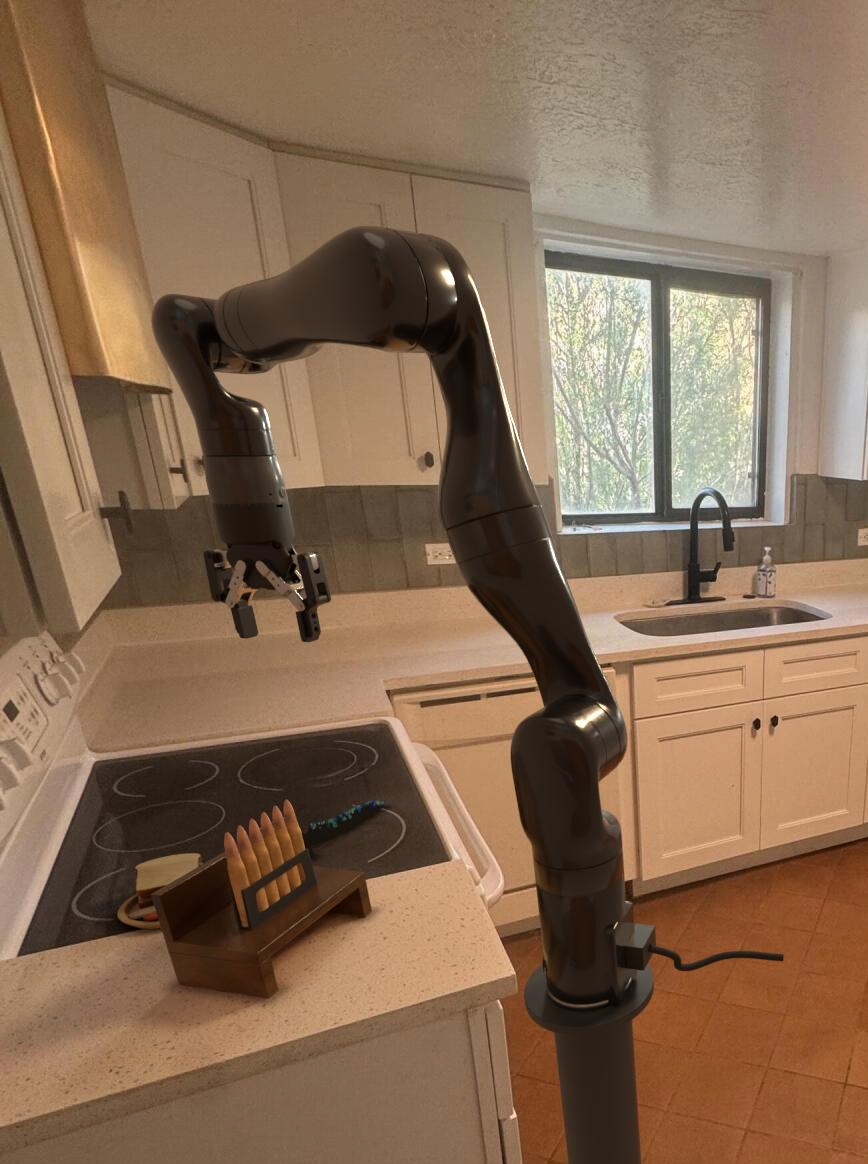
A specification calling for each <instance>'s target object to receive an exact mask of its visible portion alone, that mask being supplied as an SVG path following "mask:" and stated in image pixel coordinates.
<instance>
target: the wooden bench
mask: <svg viewBox="0 0 868 1164" xmlns="http://www.w3.org/2000/svg"><path fill="white" fill-rule="evenodd" d="M272 826H273V829H274V825H273V823H272ZM260 831H261V834H262V830H261V829H260ZM274 833H275V832H274ZM248 838H249V840H250V836H248ZM262 838H263V834H262ZM250 844H251V840H250ZM236 846H237V848H238V852H239V847H238V843H237V844H236ZM313 869H314V873H315V877H316V881H317V884H315V885H314V886H313V887H311V888H310V889H308V890H307V891H306V892H304V893H303V894H301V895H300V896H299V897H297V898H296V899H295V900H293V901H292V902H290V903H289V904H288V905H286V906H285V907H283V908H282V909H281V910H279V911H278V912H277V913H275V914H274V915H272V916H271V917H270V918H268V919H267V920H266V921H264V922H263V923H261V924H260V925H259V926H257V927H256V928H254V929H244V928H238V925H237V920H236V916H235V912H234V907H233V903H232V898H231V894H230V888H232V885H231V881H230V877H229V873H228V868H227V858H226V853H225V851H223V852H222V853H219V854H217V855H216V856H215V857H212V858H210V859H209V860H208V861H206V862H204V863H202V864H200V865H199V867H197V868H195V869H194V870H192V871H190V872H188V873H187V874H185V875H183V876H182V877H180V878H178V879H176V880H175V881H173V882H171V883H170V884H168V885H166V886H164V887H163V888H161V889H159V890H157V891H156V892H154V893H152V894H151V897H152V900H153V904H154V907H155V910H156V913H157V916H158V920H159V923H160V926H161V928H160V929H161V932H162V936H163V939H164V942H165V944H166V948H167V951H168V955H169V958H170V962H171V964H172V968H173V971H174V974H175V977H176V980H177V983H178V985H179V986H185V987H192V988H196V989H197V988H198V989H205V990H211V991H217V992H224V993H231V994H238V995H244V996H250V997H257V998H263V999H270V998H271V997H273V996H274V995H275V994H276V993H277V992H278V991H279V990H280V989H279V986H278V982H277V978H276V975H275V970H274V966H273V962H272V959H271V957H272V956H273V955H275V954H276V953H277V952H279V950H281V949H282V948H284V947H285V946H286V945H288V944H289V943H290V942H291V941H292V940H293V939H296V937H298V936H299V935H300V934H301V933H303V932H304V931H306V930H307V929H308V928H309V927H310V926H312V925H313V924H314V923H315V922H316V921H318V920H319V919H320V918H323V916H324V915H326V914H327V913H329V914H336V915H337V914H338V915H345V916H353V917H359V918H360V917H361V918H366V917H367V916H369V914H370V913H372V912H373V909H372V904H371V898H370V894H369V890H368V884H367V880H366V873H365V872H364V871H359V870H350V869H341V868H334V867H326V866H325V867H324V866H315V865H313Z"/></svg>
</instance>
